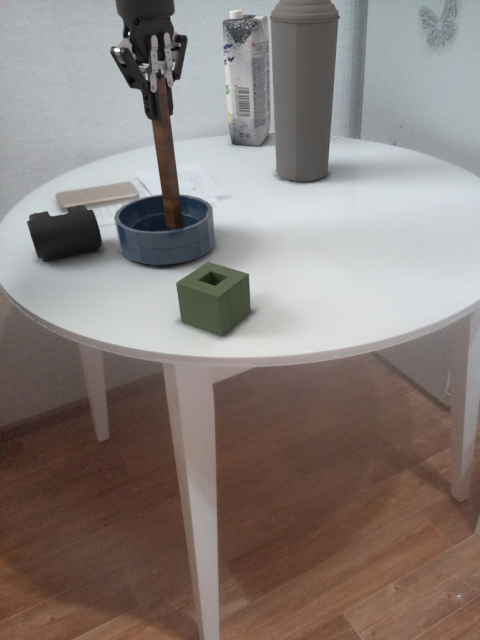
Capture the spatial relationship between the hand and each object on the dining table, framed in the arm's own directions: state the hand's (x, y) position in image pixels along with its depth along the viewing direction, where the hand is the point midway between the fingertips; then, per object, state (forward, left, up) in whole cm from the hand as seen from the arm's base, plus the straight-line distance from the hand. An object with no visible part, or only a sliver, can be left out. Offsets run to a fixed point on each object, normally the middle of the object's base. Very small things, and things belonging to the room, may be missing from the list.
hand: (160, 116), depth 82 cm
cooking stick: (0, 0, -17) cm, 17 cm away
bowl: (-2, 0, -20) cm, 20 cm away
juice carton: (+53, +21, -20) cm, 60 cm away
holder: (-15, -20, -20) cm, 32 cm away
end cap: (-12, +12, -20) cm, 27 cm away
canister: (+39, -2, -20) cm, 44 cm away
